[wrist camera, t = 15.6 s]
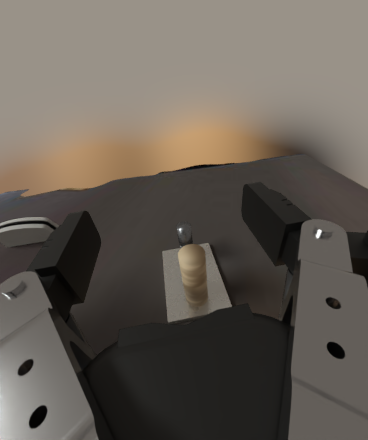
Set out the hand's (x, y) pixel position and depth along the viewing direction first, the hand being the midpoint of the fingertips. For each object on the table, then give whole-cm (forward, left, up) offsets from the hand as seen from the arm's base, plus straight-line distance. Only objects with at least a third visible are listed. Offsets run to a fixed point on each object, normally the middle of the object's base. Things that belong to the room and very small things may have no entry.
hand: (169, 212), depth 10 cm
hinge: (-43, +43, -30) cm, 68 cm away
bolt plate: (+2, +18, -30) cm, 35 cm away
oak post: (+2, +13, -29) cm, 32 cm away
